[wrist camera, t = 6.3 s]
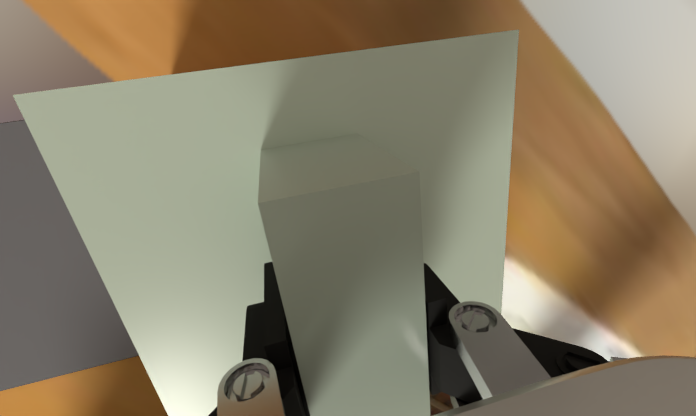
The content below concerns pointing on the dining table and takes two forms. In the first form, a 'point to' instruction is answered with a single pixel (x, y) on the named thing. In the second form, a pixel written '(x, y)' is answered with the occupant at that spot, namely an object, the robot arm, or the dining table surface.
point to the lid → (292, 209)
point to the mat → (47, 277)
